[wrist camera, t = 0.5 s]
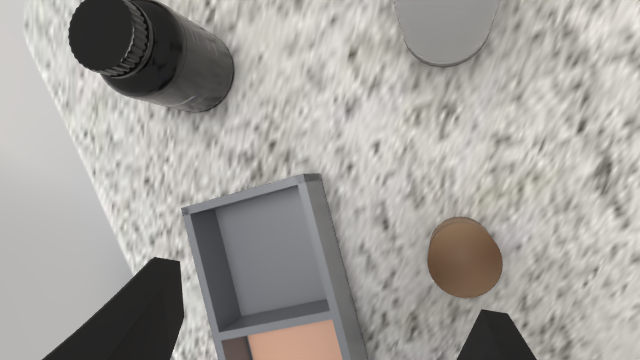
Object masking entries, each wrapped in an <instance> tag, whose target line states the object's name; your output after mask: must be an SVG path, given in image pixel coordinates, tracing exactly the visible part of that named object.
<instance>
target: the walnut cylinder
mask: <svg viewBox="0 0 640 360" xmlns="http://www.w3.org/2000/svg"><path fill="white" fill-rule="evenodd" d="M428 268H429V272H430V275H431V277H432V279H433V280H434V282H435V283H436V284H437V285H438V286H439V287H440V288H441V289H442V290H444V291H445V292H447V293H449V294H451V295H453V296H456V297H461V298H472V297H477V296H480V295H483V294H484V293H486V292H488V291H489V290H490V289H492V288H493V287H494V286H495V284H496V283H497V281H498V280H499V278H500V275H501V272H502V256H501V253H500V250H499V248H498V246H497V244H496V243H495V241H494V240H493V239H492V237H491V236H490V235H489V233H488V232H487V231H486V229H485V228H484V227H483V226H482V225H481V224H480V223H478V222H477V221H475V220H473V219H470V218H466V217H454V218H450V219H448V220H445V221H444V222H442V223H441V224H440V225H438V227H437V228H436V229H435V230H434V232H433V234H432V237H431V240H430V246H429V252H428Z"/></svg>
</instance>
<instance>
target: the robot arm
mask: <svg viewBox="0 0 640 360" xmlns="http://www.w3.org/2000/svg"><path fill="white" fill-rule="evenodd" d="M183 319H184V307H183V295H182V282H181V270H180V261H175V260H169V259H163V258H157V257H154V258H153V259H151V260H150V261H149V262H148V263H147V264H146V265H145V266H144V267H143V268H142V269H141V270H140V271H139V272H138V273H137V274H136V275H135V276H134V277H133V278H132V279H131V280H130V281H129V282H128V283H127V284H126V285H125V286H124V287H123V288H122V289H121V290H120V291H119V292H118V293H117V294H116V295H115V296H114V297H113V298H111V299H110V300H109V301H108V302H107V303H106V304H105V305H104V306H103V307H102V308H101V309H100V310H99V311H98V312H96V313H95V314H94V315H93V316H92V317H91V318H90V319H89V320H88V321H87V322H86V323H85V324H83V325H82V326H81V327H80V328H79V329H78V330H77V331H75V332H74V333H73V334H72V335H71V336H70V337H68V338H67V339H66V340H65V341H64V342H62V343H61V344H60V345H59V346H58V347H56V348H55V349H54V350H53V351H52V352H51V353H49V354H48V355H47V356H46V357H45V358H44V359H42V360H170V358H171V355H172V352H173V349H174V346H175V343H176V340H177V337H178V334H179V331H180V328H181V325H182V322H183ZM457 360H537V359H536V358H535V356H534V355H533V353H532V351H531V350H530V348H529V347H528V345H527V343H526V342H525V340H524V339H523V337H522V335H521V334H520V332H519V331H518V329H517V328H516V326H515V324H514V323H513V321H512V320H511V318H510V317H509V315H508V314H507V313H501V312H495V311H488V310H481V312H480V314H479V316H478V318H477V320H476V322H475V324H474V326H473V328H472V330H471V332H470V334H469V336H468V338H467V340H466V342H465V344H464V346H463V348H462V350H461V352H460V354H459V356H458V358H457Z"/></svg>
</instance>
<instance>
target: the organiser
mask: <svg viewBox="0 0 640 360" xmlns="http://www.w3.org/2000/svg"><path fill="white" fill-rule="evenodd" d="M181 210H182V214H183V218H184V222H185V226H186V230H187V234H188V238H189V242H190V246H191V251H192V255H193V259H194V263H195V267H196V271H197V275H198V279H199V283H200V287H201V291H202V295H203V299H204V304H205V308H206V312H207V316H208V320H209V324H210V328H211V332H212V336H213V340H214V344H215V348H216V352H217V357H218V360H368V357H367V353H366V350H365V346H364V342H363V338H362V334H361V330H360V327H359V323H358V319H357V315H356V311H355V307H354V303H353V300H352V296H351V292H350V288H349V284H348V280H347V277H346V273H345V269H344V265H343V261H342V257H341V254H340V250H339V246H338V242H337V238H336V234H335V230H334V227H333V223H332V219H331V215H330V211H329V207H328V204H327V200H326V196H325V192H324V188H323V184H322V180H321V177H320V174H302V175H298V176H294V177H291V178H287V179H284V180H280V181H277V182H273V183H269V184H266V185H262V186H259V187H255V188H251V189H248V190H244V191H241V192H237V193H234V194H230V195H226V196H223V197H219V198H216V199H212V200H208V201H205V202H201V203H198V204H194V205H191V206H187V207H183V208H181Z"/></svg>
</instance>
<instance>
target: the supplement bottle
mask: <svg viewBox="0 0 640 360" xmlns="http://www.w3.org/2000/svg"><path fill="white" fill-rule="evenodd" d="M68 30H69V36H68V38H69V45H70V47H71V51H72V53H73V54H74V57H75V58H76V59H78V62H79V63H80V64H82V65H83V66H84V67H85V68H87V69H90V70H91V71H94V72H97V73H100V74H101V76H102V78H103V79H104V80H105V82H106V83H107V84H108V85H109V86H110V87H111V88H112V89H114V90H115V91H116V92H118V93H120V94H122V95H124V96H127V97H130V98H134V99H138V100H142V101H146V102H150V103H154V104H158V105H162V106H167V107H171V108H175V109H179V110H183V111H189V112H200V111H204V110H207V109H210V108H212V107H213V106H215V105H216V104H218V103H219V102H220V101H221V100H222V99H223V97H224V96H225V95H226V93H227V91H228V89H229V87H230V84H231V81H232V76H233V65H232V60H231V56H230V54H229V52H228V50H227V48H226V47H225V45H224V44H223V43H222V42H221V41H220V40H219V39H218V38H217V37H215V36H214V35H212V34H211V33H209V32H208V31H206V30H205V29H203V28H201V27H200V26H198V25H197V24H195V23H193V22H192V21H190V20H188V19H187V18H185V17H184V16H182V15H180V14H179V13H177V12H176V11H174V10H172V9H171V8H169V7H167V6H166V5H164V4H162V3H160V2H158V1H156V0H85V1H84V2H81V3H80V5H79V7H77V8H76V10H75V13H74V14H73V15H72V20H71V21H70V27H69V29H68Z"/></svg>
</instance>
